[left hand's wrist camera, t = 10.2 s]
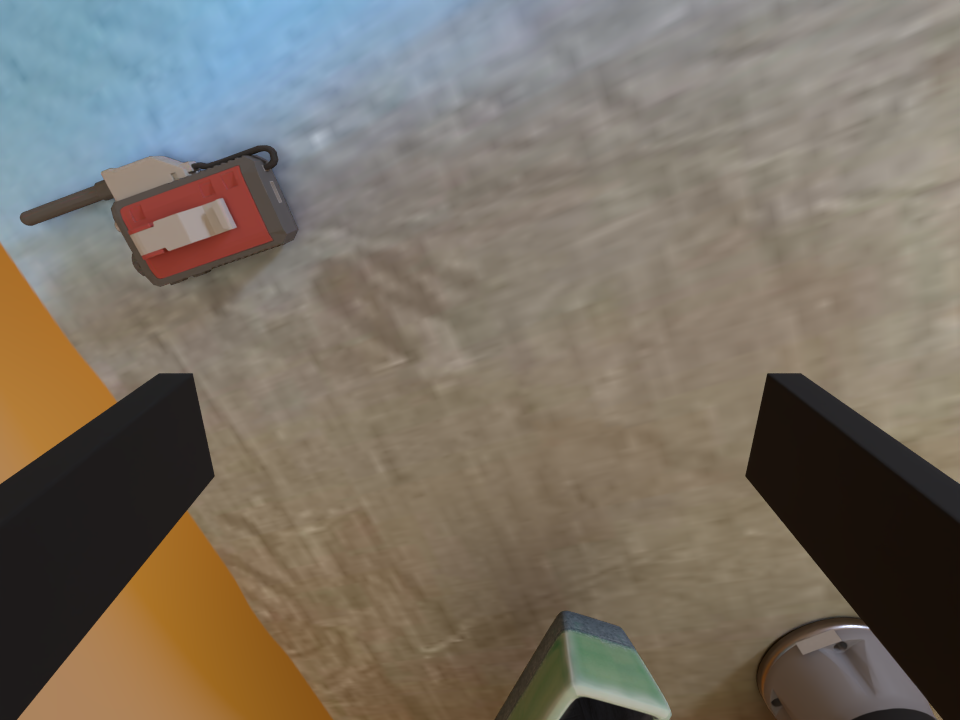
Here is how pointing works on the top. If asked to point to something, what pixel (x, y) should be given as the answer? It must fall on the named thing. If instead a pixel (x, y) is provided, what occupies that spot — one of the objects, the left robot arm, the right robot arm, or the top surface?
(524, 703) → the planter
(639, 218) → the top surface
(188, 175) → the walkie-talkie
